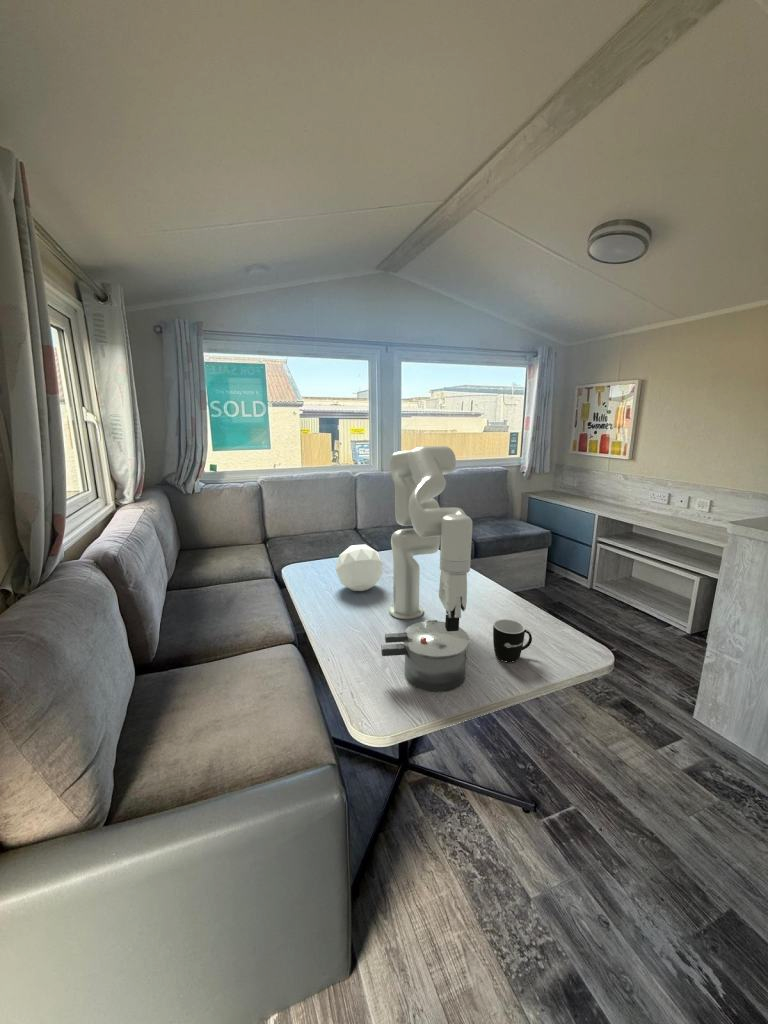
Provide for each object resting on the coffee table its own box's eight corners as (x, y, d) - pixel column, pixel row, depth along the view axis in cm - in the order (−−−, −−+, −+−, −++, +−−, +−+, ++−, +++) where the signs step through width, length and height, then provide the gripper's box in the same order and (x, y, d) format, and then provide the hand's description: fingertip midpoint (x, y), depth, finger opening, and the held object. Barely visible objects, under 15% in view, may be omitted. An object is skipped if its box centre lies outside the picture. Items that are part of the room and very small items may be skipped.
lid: (381, 626, 125) (381, 618, 124) (457, 622, 127) (458, 614, 127) (389, 661, 107) (389, 652, 106) (477, 656, 109) (478, 647, 108)
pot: (378, 659, 126) (378, 628, 123) (456, 655, 128) (457, 624, 126) (384, 696, 109) (384, 661, 107) (473, 690, 112) (475, 655, 109)
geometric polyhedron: (355, 608, 175) (331, 580, 163) (346, 576, 191) (324, 548, 179) (395, 586, 174) (374, 556, 162) (383, 556, 190) (363, 526, 178)
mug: (499, 666, 122) (501, 634, 120) (486, 650, 131) (488, 620, 128) (537, 662, 124) (540, 631, 122) (523, 647, 133) (525, 617, 130)
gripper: (433, 554, 113) (431, 616, 117) (447, 575, 98) (444, 646, 103) (461, 553, 114) (458, 615, 118) (479, 574, 99) (474, 644, 104)
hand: (451, 629), depth 110 cm, fingers closed
